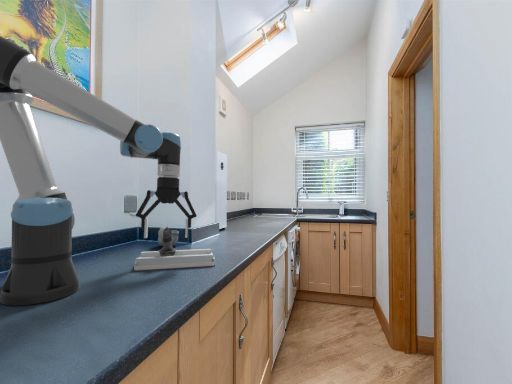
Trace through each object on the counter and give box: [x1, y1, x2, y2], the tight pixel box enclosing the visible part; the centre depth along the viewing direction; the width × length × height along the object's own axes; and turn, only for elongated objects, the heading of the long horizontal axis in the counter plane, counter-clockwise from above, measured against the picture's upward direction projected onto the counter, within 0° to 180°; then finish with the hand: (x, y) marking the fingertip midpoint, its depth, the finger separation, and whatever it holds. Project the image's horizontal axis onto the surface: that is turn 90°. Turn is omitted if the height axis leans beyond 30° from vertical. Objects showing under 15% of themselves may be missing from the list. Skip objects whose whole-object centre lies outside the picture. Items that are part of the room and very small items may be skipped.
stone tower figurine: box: [158, 226, 177, 257], centre depth 96 cm, size 6×6×12 cm
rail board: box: [133, 248, 216, 271], centre depth 97 cm, size 26×12×4 cm, turn 105°
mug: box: [157, 226, 180, 247], centre depth 128 cm, size 10×12×10 cm
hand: (166, 237), depth 96 cm, fingers open, 13 cm apart
